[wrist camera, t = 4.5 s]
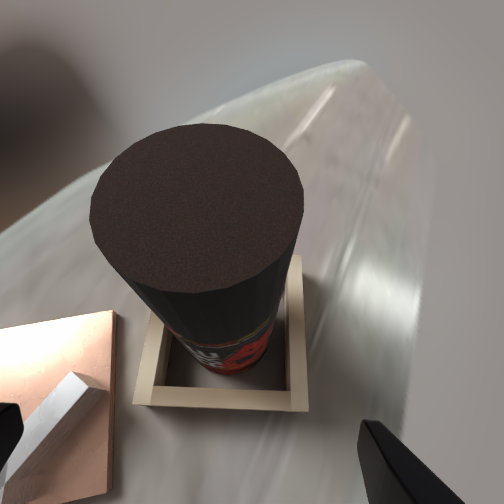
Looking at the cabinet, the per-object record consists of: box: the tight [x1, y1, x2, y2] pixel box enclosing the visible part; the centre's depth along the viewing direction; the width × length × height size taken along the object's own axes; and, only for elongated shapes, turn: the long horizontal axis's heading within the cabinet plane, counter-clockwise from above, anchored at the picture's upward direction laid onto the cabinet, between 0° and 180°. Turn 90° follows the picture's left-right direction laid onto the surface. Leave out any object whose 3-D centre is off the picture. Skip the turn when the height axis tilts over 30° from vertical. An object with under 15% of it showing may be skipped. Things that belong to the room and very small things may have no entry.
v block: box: [0, 310, 117, 504], centre depth 18 cm, size 10×11×3 cm
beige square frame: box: [132, 255, 309, 412], centre depth 20 cm, size 10×10×2 cm
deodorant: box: [89, 123, 304, 375], centre depth 15 cm, size 6×6×15 cm
